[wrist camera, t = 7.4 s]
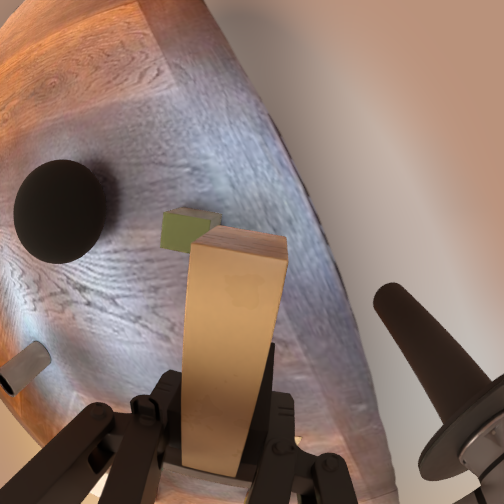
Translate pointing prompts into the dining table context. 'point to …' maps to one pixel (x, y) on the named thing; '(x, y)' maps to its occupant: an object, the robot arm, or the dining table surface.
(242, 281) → the fork
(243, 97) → the dining table surface
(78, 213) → the decorative ball
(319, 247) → the dining table surface
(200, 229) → the knife rest
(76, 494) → the robot arm
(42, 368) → the grey cylinder
